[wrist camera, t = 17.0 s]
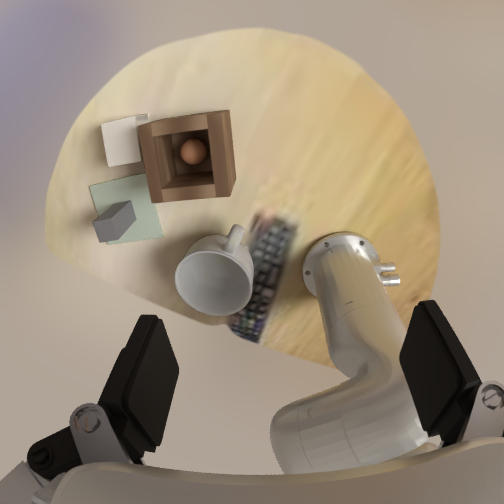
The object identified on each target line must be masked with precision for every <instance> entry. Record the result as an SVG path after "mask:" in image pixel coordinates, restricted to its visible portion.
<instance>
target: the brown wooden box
mask: <svg viewBox="0 0 504 504" xmlns="http://www.w3.org/2000/svg"><path fill="white" fill-rule="evenodd" d="M138 128H139V135H140V142H141V148H142V154H143V160H144V166H145V172H146V177H147V183H148V188H149V193H150V198H151V203H161V202H171V201H181V200H192V199H204V198H216V197H230V195H231V192H232V189H233V186H234V183H235V180H236V171H235V161H234V150H233V140H232V130H231V119H230V110H224V111H215V112H207V113H199V114H192V115H185V116H178V117H172V118H166V119H160V120H156V121H153V122H149V123H146V124H142V125H139V126H138ZM189 139H199V140H201V141H202V142H203V143H204V144H205V145H206V148H207V154H206V157H205V159H204V160H203V161H202V162H200V163H198V164H188V163H186V162H185V161H184V160H183V159H182V157H181V153H180V151H181V147H182V145H183V144H184V142H186V141H187V140H189Z"/></svg>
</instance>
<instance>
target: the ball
mask: <svg viewBox="0 0 504 504" xmlns="http://www.w3.org/2000/svg"><path fill="white" fill-rule="evenodd" d="M180 153H181V157H182V159H183V160H184V161H185V162H186V163H188V164H198V163H200V162H202V161H203V160H204V159H205V157H206V154H207V148H206V145H205V144H204V143H203V142H202V141H201V140H199V139H189V140H187V141H186V142H184V144H183V145H182V147H181V151H180Z"/></svg>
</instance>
